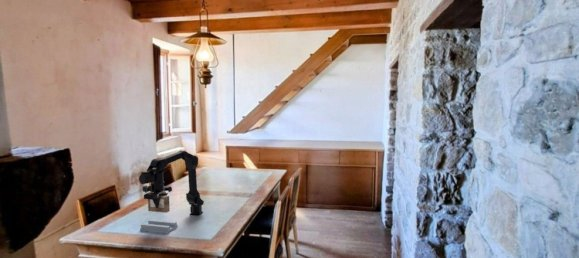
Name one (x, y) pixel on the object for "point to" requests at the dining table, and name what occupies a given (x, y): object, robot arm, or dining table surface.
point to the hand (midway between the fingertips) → (158, 206)
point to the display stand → (159, 226)
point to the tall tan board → (162, 205)
